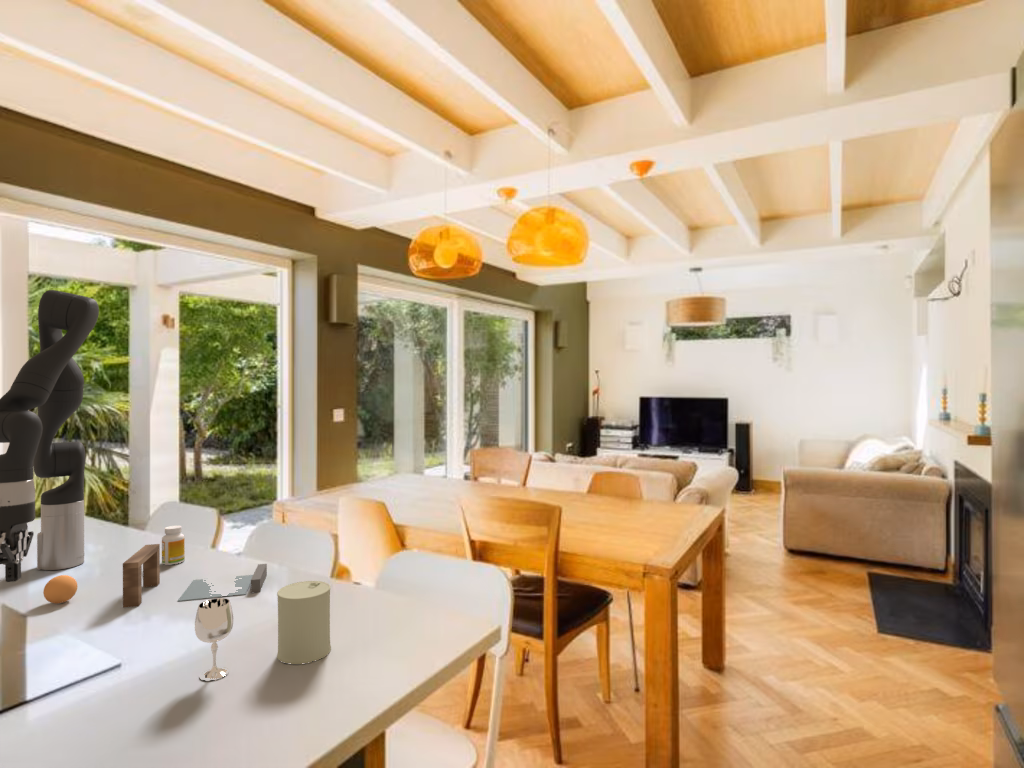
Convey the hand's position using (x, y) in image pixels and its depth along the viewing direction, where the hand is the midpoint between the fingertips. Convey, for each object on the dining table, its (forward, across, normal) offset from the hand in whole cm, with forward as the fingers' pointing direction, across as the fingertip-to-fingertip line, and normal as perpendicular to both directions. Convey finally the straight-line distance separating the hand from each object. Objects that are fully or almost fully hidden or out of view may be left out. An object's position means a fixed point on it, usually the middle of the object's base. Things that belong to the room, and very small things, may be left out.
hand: (13, 580), depth 124 cm
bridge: (+6, 0, -25) cm, 25 cm away
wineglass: (+7, -46, -48) cm, 66 cm away
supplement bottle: (+6, +25, -25) cm, 36 cm away
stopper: (+6, -1, -50) cm, 50 cm away
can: (+8, -42, -62) cm, 75 cm away
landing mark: (+6, 0, -41) cm, 41 cm away
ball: (+3, 0, -9) cm, 9 cm away
